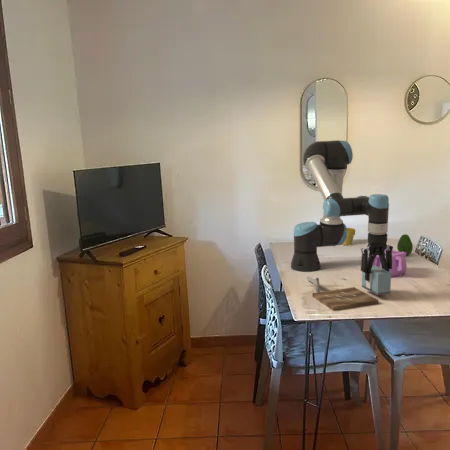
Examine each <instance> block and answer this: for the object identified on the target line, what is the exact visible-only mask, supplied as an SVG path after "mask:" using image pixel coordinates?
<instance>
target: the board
mask: <svg viewBox="0 0 450 450" xmlns="http://www.w3.org/2000/svg"><path fill="white" fill-rule="evenodd" d="M311 295H312V297H313V298H314V299H316V301H319V302H320V303H321V304H322V305H324V306H326V307H328V308H329V309H330V310H332V311H340V310H346V309H354V308H360V307H365V306H372V305H378V304H379V299H377V298H375V297H373V296H371V295H370V294H368V293H367V292H364V291H362V290H360V289H359V288H357V287H354V286H353V287H346V288H339V289H331V290H326V291H320V292H317V291H316V292H313V293H312V294H311Z"/></svg>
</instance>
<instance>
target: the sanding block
mask: <svg viewBox="0 0 450 450" xmlns="http://www.w3.org/2000/svg"><path fill="white" fill-rule="evenodd" d="M361 272H362V271H361ZM370 273H372V289H369V288H367V287H366V280H365V273H364V272H362V273H361V288H363V289H365V290H367V291H368V292H369V293H370V292H371V293H372V294H374V295H376V296H381V295H382V296H384V295H389V294H391V285H392V277H391V272H389V271H387V270H385V269H382V268H380V267H378V266H375V265H373V266H372V269H371V272H370Z"/></svg>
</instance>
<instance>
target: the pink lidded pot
mask: <svg viewBox="0 0 450 450" xmlns="http://www.w3.org/2000/svg"><path fill="white" fill-rule="evenodd" d="M406 253H407V252H399V251H398V250H394V249H393V250H392V269H389V272H391V278H395V277H400V276H403V275H405V274H406V272H407V268H408V267H407V258H406ZM385 258H386V249H385ZM373 265H375V266H378V267H380V268H382V266H381V262H380V258H379V255H377V256H376V258H375V259H374V262H373Z"/></svg>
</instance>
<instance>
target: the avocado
mask: <svg viewBox="0 0 450 450" xmlns="http://www.w3.org/2000/svg"><path fill="white" fill-rule="evenodd" d="M413 245H414V244H413V243H412V240H411V237H410V236H409V235H408V234H406V233H405V234H402V235H401V236H400V238H399V239H398V242H397V245H396V246H397V247H396V249H397V251H399V252H407V253H406V256H409V255H410V254H411V253H412V252H413ZM406 256H405V257H406Z"/></svg>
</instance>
